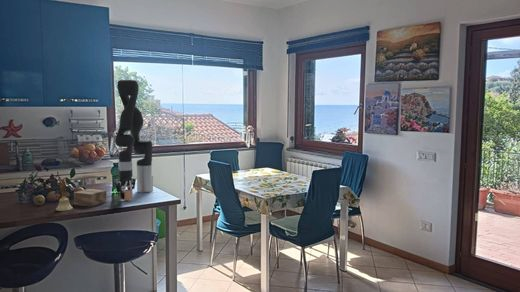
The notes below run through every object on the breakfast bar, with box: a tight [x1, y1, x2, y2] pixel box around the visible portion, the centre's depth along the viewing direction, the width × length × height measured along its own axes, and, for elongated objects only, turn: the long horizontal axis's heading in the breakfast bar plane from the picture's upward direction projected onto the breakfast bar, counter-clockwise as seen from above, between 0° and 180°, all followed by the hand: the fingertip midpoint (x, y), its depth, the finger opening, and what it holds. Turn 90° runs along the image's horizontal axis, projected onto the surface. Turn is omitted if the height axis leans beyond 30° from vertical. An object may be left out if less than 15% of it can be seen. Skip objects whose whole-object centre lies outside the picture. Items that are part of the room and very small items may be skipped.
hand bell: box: [55, 178, 74, 212], centre depth 220 cm, size 8×8×16 cm
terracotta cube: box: [119, 188, 133, 201], centre depth 241 cm, size 5×5×5 cm
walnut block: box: [73, 188, 107, 208], centre depth 234 cm, size 12×12×7 cm
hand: (126, 197), depth 241 cm, fingers closed on terracotta cube, 5 cm apart
